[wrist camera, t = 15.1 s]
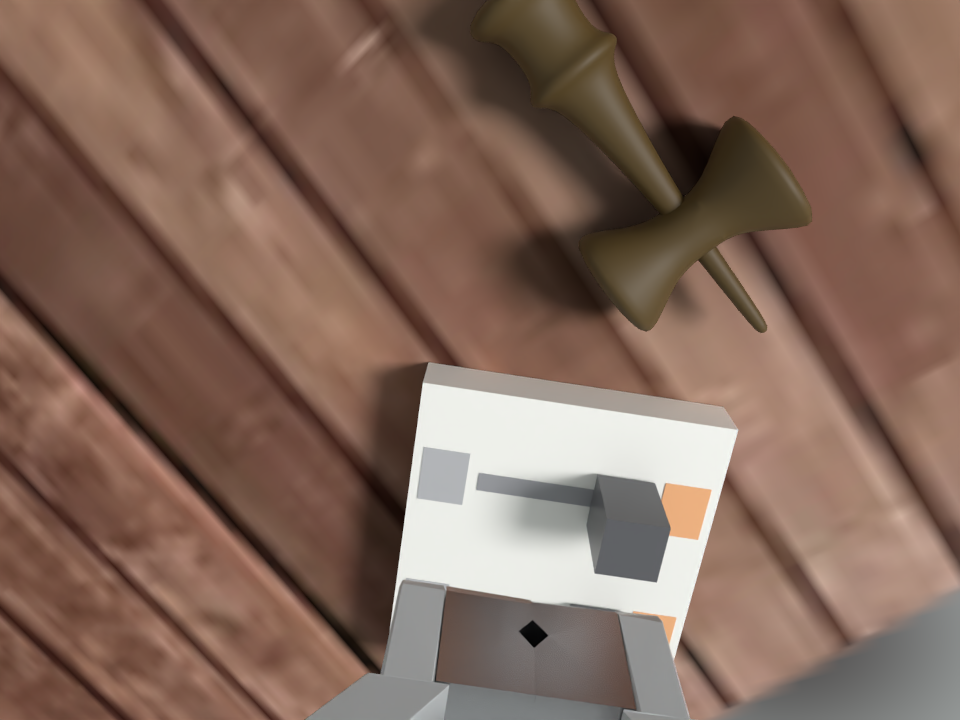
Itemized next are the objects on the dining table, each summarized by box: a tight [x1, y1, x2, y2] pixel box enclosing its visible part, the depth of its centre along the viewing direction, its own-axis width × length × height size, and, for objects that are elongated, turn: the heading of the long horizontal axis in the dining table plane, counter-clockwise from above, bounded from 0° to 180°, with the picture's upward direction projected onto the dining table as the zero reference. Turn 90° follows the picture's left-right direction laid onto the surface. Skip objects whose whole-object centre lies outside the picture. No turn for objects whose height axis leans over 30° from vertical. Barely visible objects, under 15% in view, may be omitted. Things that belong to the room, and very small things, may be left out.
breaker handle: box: [586, 474, 671, 583], centre depth 40 cm, size 3×3×4 cm
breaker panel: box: [389, 362, 738, 660], centre depth 45 cm, size 16×18×3 cm
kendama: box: [470, 0, 812, 333], centre depth 37 cm, size 6×10×20 cm
